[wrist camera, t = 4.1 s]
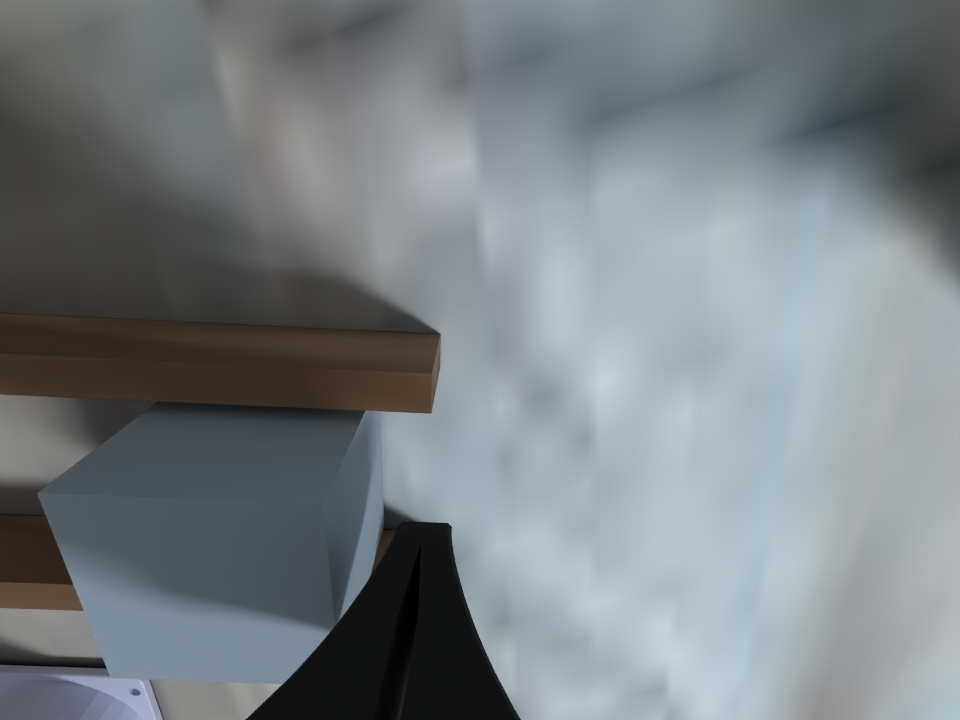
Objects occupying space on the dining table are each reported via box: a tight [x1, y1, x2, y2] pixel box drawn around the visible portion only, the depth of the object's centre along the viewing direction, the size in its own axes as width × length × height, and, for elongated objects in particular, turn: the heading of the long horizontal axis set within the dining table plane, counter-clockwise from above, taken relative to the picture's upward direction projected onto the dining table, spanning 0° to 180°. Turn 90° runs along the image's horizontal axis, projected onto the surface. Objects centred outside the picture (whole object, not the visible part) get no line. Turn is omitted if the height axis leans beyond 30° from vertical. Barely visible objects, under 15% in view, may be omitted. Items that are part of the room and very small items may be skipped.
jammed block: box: [37, 401, 384, 684], centre depth 14 cm, size 6×6×6 cm
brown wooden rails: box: [0, 313, 441, 611], centre depth 15 cm, size 9×22×3 cm, turn 87°
